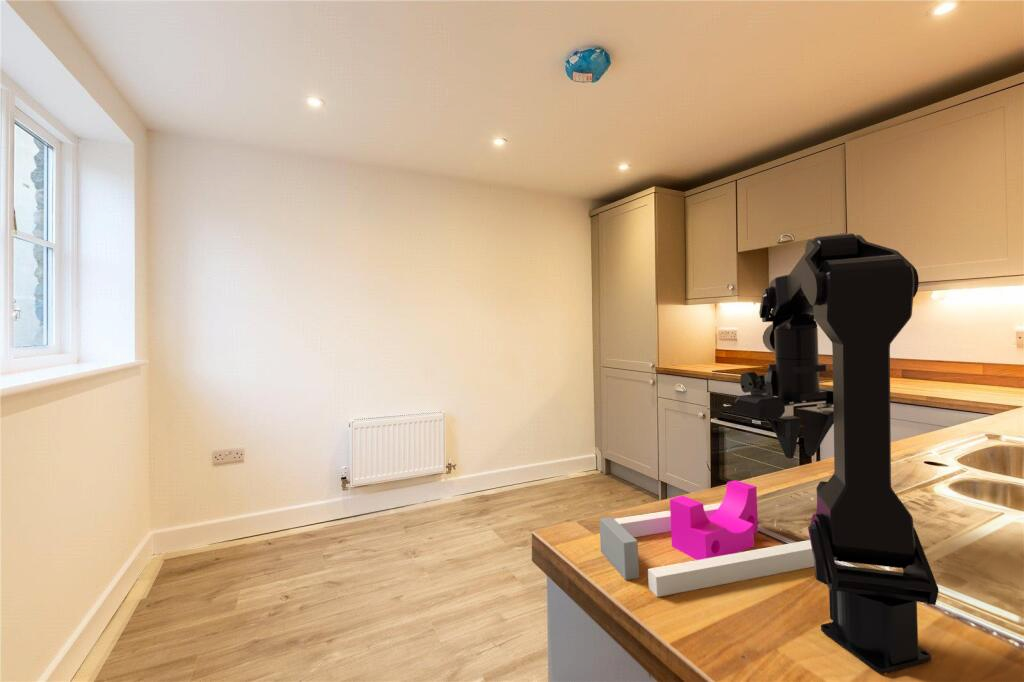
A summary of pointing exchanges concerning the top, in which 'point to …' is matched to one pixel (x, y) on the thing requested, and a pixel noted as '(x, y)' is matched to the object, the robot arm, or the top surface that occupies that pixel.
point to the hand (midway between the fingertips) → (799, 456)
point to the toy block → (715, 523)
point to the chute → (696, 573)
